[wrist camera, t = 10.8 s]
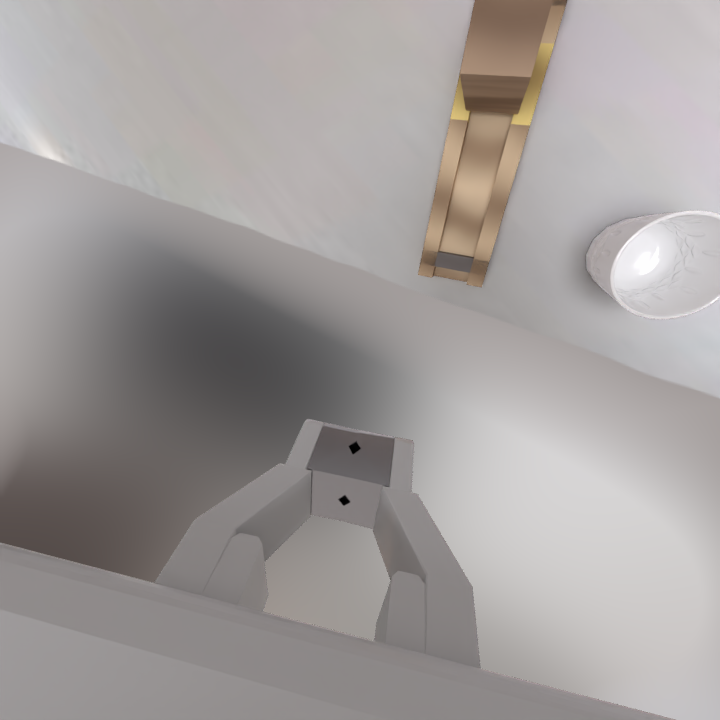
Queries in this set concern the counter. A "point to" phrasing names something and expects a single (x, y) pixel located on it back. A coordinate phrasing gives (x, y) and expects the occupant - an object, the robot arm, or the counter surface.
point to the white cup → (659, 263)
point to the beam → (480, 176)
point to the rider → (501, 53)
